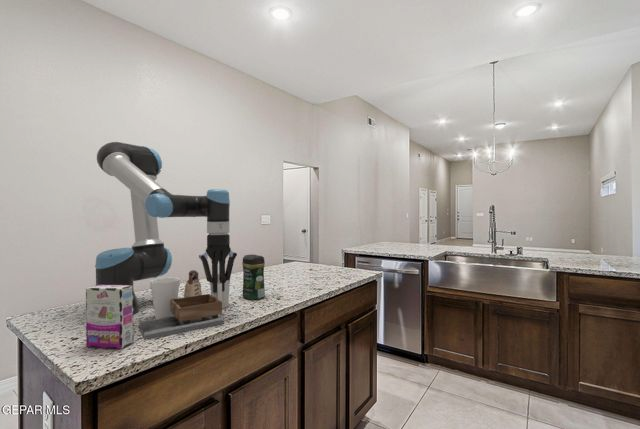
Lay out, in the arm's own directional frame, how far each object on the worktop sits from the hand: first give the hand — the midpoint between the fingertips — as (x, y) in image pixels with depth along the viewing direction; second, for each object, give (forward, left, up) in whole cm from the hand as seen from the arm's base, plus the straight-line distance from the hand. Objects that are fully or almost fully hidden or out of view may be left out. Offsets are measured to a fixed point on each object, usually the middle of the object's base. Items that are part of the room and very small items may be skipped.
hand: (218, 301), depth 114 cm
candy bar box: (+5, -32, -6) cm, 33 cm away
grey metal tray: (0, -12, -6) cm, 14 cm away
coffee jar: (-18, +21, -6) cm, 28 cm away
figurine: (-34, 0, -6) cm, 34 cm away
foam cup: (-12, -15, -6) cm, 20 cm away
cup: (-14, +5, -6) cm, 16 cm away
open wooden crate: (0, -8, -4) cm, 9 cm away
